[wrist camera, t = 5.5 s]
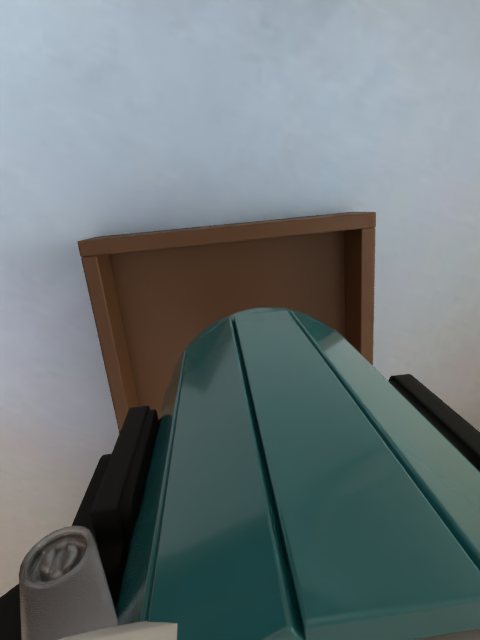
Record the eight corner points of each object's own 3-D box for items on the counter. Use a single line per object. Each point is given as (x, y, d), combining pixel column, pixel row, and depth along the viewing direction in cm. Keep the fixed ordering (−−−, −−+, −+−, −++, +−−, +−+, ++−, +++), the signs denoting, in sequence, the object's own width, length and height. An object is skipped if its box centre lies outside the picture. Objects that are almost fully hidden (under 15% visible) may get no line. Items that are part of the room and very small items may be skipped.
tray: (94, 237, 21) (76, 241, 18) (353, 211, 22) (376, 212, 19) (157, 546, 28) (152, 585, 25) (353, 516, 29) (369, 551, 26)
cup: (154, 318, 12) (-12, 675, 3) (358, 296, 12) (771, 552, 3) (182, 486, 14) (137, 990, 5) (356, 463, 14) (601, 895, 5)
